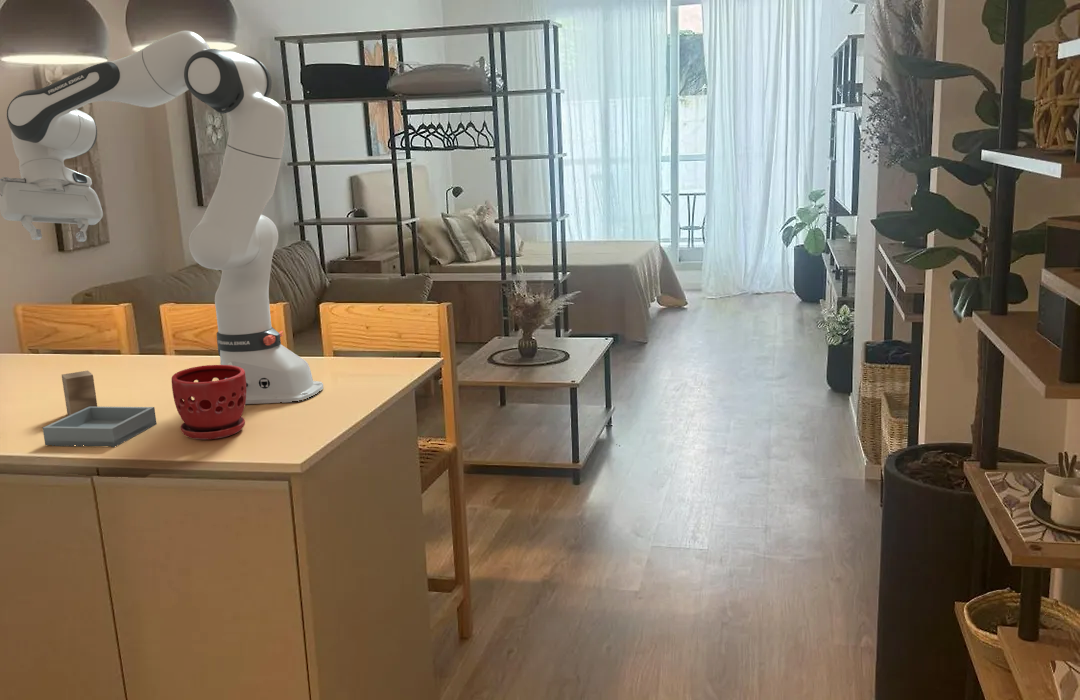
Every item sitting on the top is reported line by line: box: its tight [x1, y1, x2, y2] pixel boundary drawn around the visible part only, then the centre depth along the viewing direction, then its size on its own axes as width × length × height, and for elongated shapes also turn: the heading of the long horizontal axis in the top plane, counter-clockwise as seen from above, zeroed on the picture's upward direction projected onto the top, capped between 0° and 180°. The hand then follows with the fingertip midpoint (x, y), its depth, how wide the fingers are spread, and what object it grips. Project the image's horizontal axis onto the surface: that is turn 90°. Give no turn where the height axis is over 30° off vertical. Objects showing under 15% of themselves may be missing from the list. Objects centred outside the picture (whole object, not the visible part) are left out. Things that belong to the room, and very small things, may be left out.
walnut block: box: [61, 370, 98, 416], centre depth 193 cm, size 5×5×8 cm
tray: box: [42, 406, 157, 448], centre depth 179 cm, size 14×14×4 cm
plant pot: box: [171, 364, 246, 441], centre depth 177 cm, size 13×13×12 cm
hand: (60, 239), depth 199 cm, fingers open, 8 cm apart
